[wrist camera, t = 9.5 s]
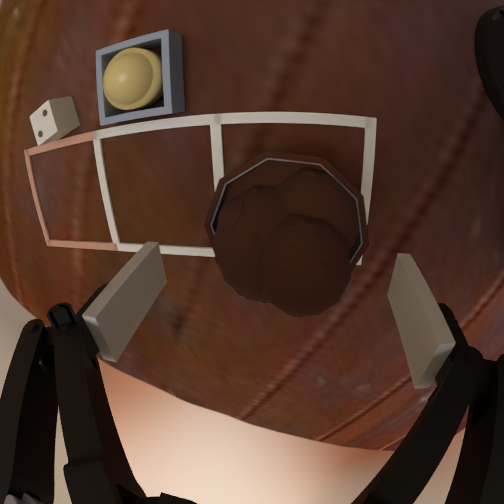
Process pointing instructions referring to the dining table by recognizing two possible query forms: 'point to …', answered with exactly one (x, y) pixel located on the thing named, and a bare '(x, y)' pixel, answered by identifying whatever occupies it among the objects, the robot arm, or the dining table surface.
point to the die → (54, 120)
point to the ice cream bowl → (287, 231)
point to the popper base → (170, 71)
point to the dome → (134, 79)
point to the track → (217, 156)
